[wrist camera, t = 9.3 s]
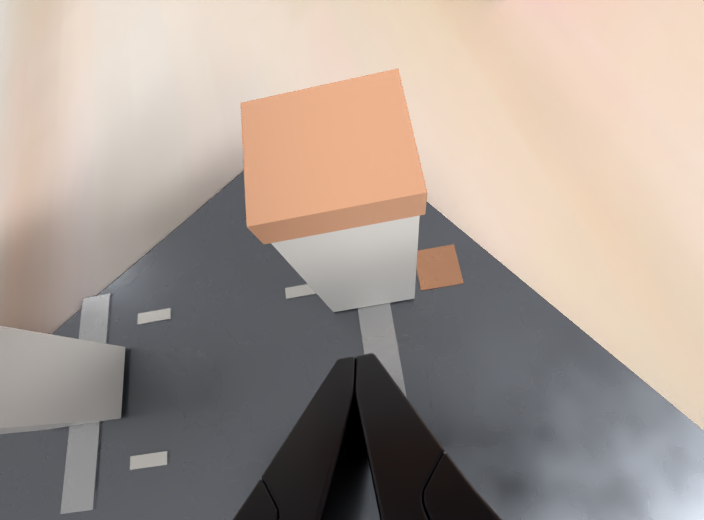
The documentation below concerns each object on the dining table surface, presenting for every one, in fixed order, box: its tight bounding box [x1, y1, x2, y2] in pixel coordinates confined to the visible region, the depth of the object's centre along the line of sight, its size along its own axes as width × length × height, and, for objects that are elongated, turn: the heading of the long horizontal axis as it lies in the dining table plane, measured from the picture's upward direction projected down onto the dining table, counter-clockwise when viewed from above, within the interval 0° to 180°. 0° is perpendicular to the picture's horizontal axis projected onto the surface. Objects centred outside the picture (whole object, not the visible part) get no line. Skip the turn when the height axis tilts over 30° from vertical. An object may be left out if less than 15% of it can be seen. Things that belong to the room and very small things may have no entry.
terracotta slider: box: [241, 69, 427, 312], centre depth 13 cm, size 3×4×9 cm
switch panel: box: [0, 171, 704, 520], centre depth 15 cm, size 24×24×1 cm
